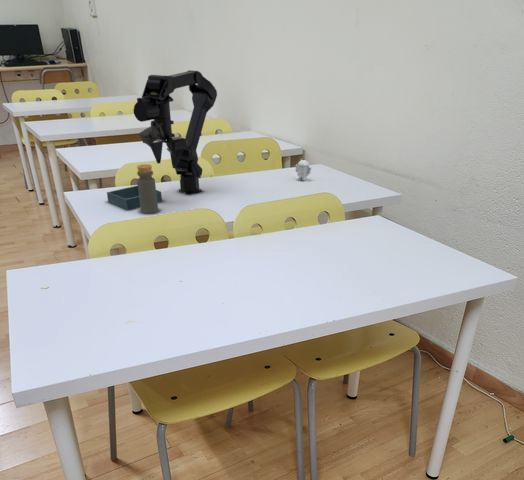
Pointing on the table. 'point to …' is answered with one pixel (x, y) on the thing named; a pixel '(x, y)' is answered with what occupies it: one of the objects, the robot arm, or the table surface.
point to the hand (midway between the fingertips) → (166, 165)
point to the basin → (120, 197)
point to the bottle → (147, 189)
